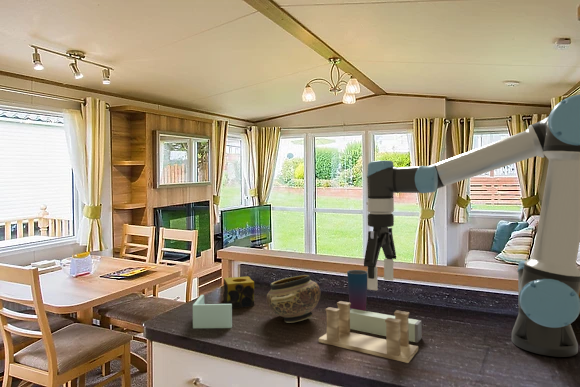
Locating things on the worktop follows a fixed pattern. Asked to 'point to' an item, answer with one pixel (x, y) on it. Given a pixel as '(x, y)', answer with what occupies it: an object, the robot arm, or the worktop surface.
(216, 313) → the l-shaped corner panel
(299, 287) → the ceramic bowl
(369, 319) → the rail
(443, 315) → the worktop surface
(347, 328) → the bar on post stand
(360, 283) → the cup
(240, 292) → the yellow patterned cube
